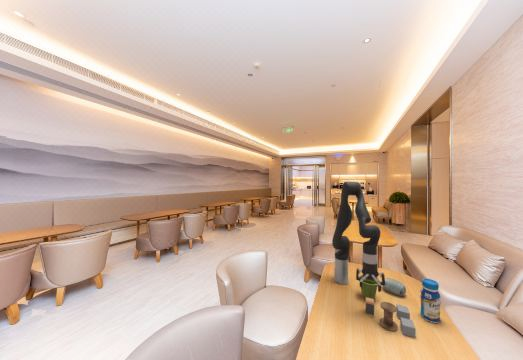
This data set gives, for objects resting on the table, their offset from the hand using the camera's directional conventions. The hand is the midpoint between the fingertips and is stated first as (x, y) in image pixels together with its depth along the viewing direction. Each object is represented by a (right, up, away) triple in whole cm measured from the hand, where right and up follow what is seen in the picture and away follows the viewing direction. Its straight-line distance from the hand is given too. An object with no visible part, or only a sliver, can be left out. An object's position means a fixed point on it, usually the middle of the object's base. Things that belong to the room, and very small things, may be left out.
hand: (370, 289), depth 111 cm
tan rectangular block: (0, -13, 0) cm, 13 cm away
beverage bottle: (+30, -13, -5) cm, 33 cm away
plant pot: (+7, -13, +15) cm, 21 cm away
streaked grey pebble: (+26, -13, +20) cm, 35 cm away
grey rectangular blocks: (+13, -13, -9) cm, 21 cm away
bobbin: (+4, -13, -10) cm, 17 cm away
